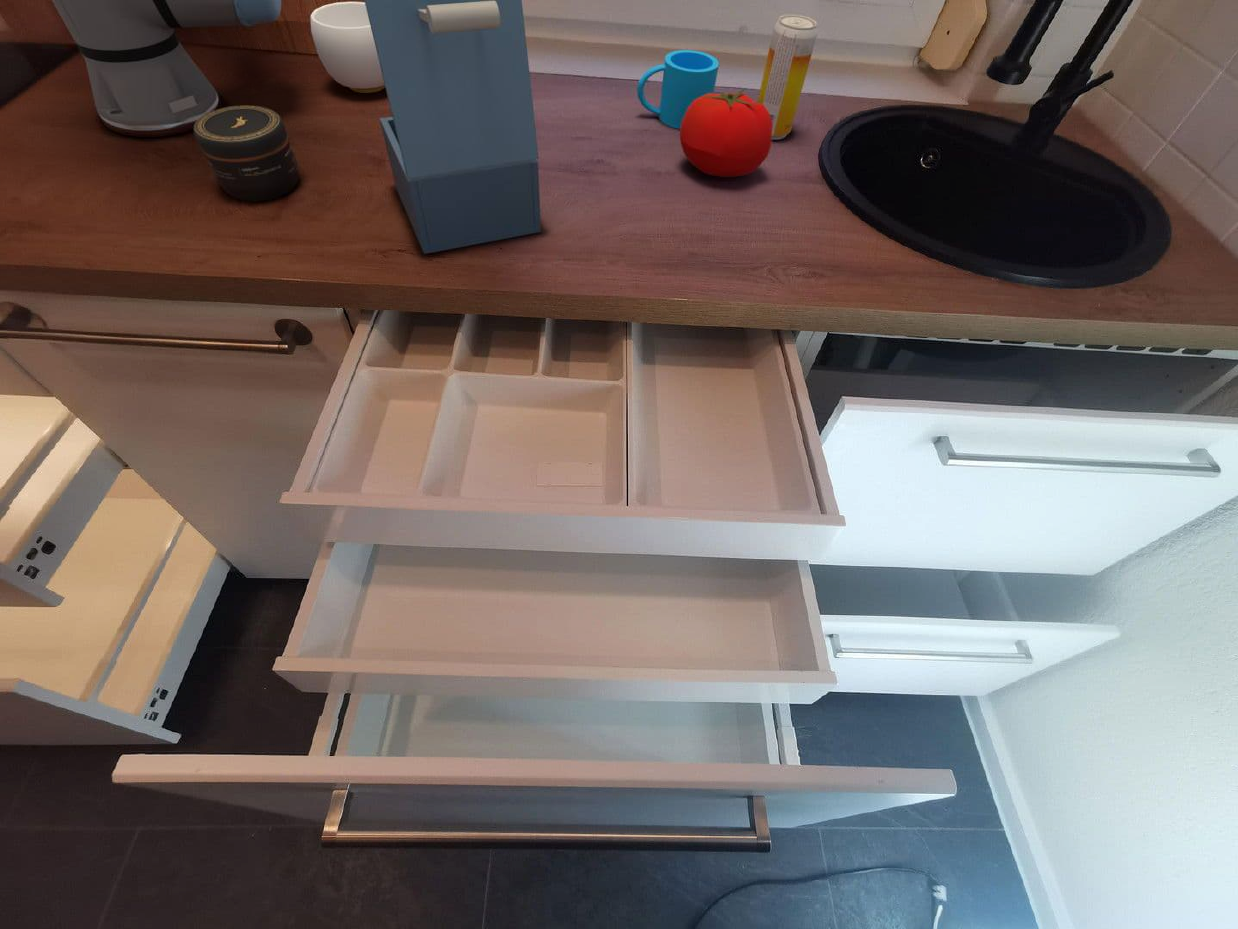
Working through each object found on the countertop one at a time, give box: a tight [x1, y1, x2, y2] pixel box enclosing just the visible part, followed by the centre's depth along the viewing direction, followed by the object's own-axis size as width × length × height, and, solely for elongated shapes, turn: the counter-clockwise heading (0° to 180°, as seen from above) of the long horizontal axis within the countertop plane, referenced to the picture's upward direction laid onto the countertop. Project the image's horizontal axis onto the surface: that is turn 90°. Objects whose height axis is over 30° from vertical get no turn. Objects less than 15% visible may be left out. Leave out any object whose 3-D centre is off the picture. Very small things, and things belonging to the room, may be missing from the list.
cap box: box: [379, 116, 542, 255], centre depth 76 cm, size 16×15×9 cm
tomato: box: [679, 88, 772, 178], centre depth 85 cm, size 11×13×10 cm
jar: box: [193, 104, 300, 202], centre depth 77 cm, size 10×10×8 cm
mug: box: [636, 49, 719, 130], centre depth 96 cm, size 12×8×8 cm
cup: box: [310, 1, 386, 94], centre depth 95 cm, size 12×12×10 cm
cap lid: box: [363, 0, 540, 179], centre depth 60 cm, size 16×15×8 cm
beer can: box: [757, 13, 818, 141], centre depth 92 cm, size 6×6×15 cm
